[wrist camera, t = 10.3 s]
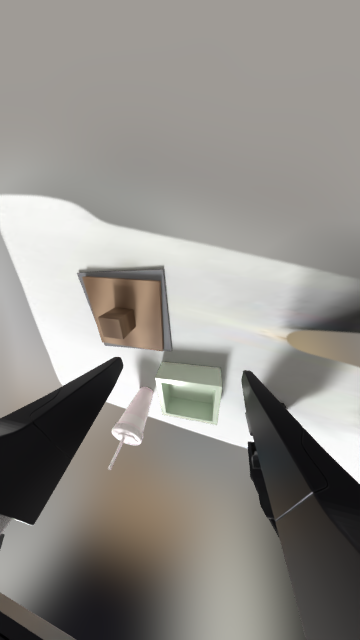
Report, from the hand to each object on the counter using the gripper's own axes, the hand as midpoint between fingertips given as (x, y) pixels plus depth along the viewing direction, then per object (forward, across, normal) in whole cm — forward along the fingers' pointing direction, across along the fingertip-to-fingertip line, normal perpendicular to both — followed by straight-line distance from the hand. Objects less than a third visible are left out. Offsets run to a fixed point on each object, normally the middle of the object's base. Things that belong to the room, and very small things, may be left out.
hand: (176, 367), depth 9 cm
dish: (+13, +1, +19) cm, 23 cm away
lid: (+13, +12, +2) cm, 17 cm away
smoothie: (+13, +12, +24) cm, 30 cm away
